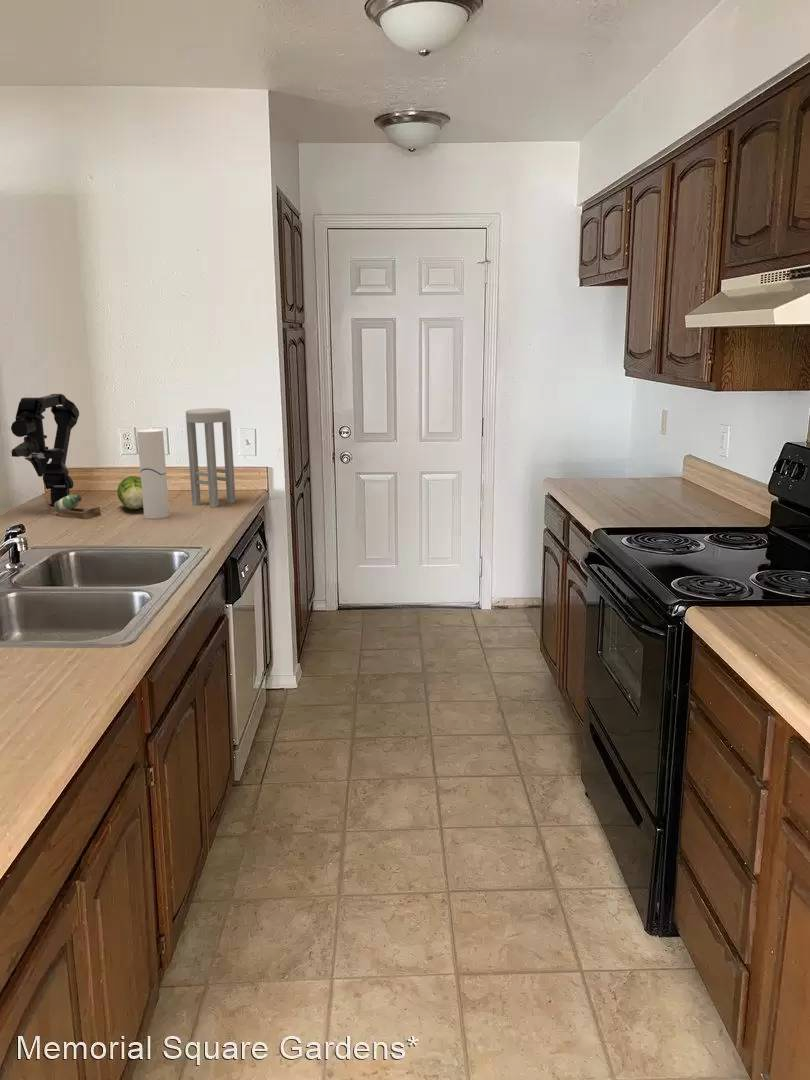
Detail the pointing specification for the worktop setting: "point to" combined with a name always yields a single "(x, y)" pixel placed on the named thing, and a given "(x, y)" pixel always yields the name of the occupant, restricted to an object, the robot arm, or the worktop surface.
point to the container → (153, 473)
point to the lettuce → (131, 492)
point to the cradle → (81, 513)
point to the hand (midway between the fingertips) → (40, 476)
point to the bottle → (67, 503)
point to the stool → (210, 454)
